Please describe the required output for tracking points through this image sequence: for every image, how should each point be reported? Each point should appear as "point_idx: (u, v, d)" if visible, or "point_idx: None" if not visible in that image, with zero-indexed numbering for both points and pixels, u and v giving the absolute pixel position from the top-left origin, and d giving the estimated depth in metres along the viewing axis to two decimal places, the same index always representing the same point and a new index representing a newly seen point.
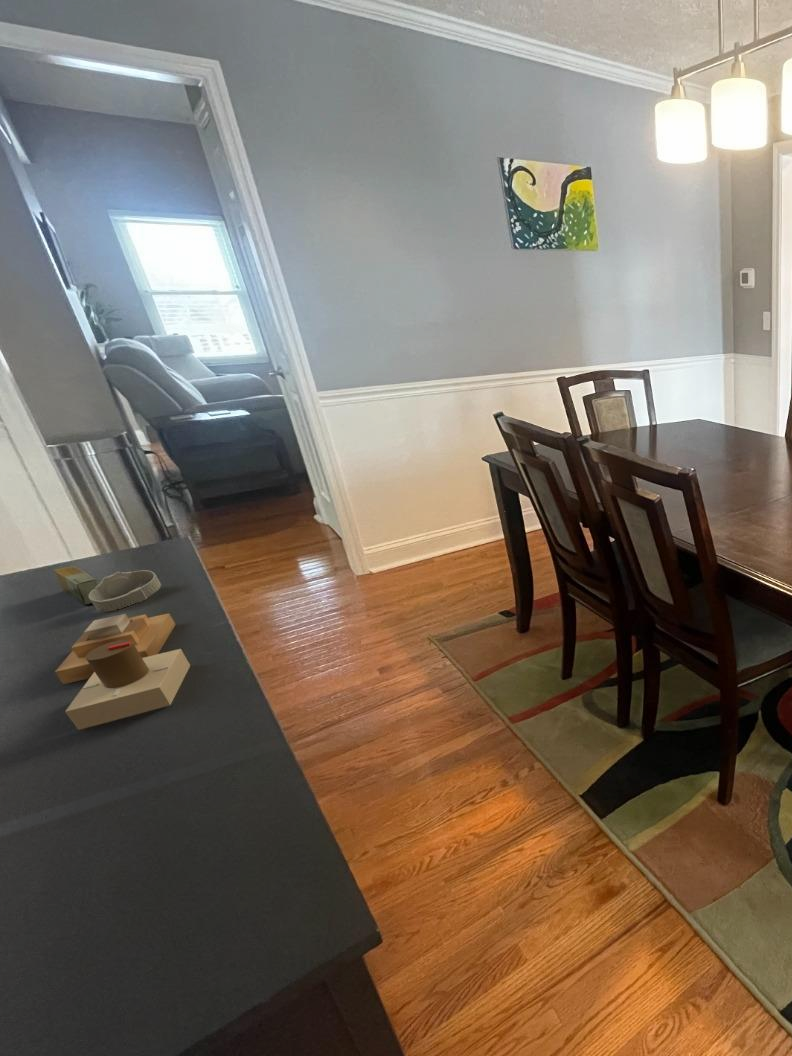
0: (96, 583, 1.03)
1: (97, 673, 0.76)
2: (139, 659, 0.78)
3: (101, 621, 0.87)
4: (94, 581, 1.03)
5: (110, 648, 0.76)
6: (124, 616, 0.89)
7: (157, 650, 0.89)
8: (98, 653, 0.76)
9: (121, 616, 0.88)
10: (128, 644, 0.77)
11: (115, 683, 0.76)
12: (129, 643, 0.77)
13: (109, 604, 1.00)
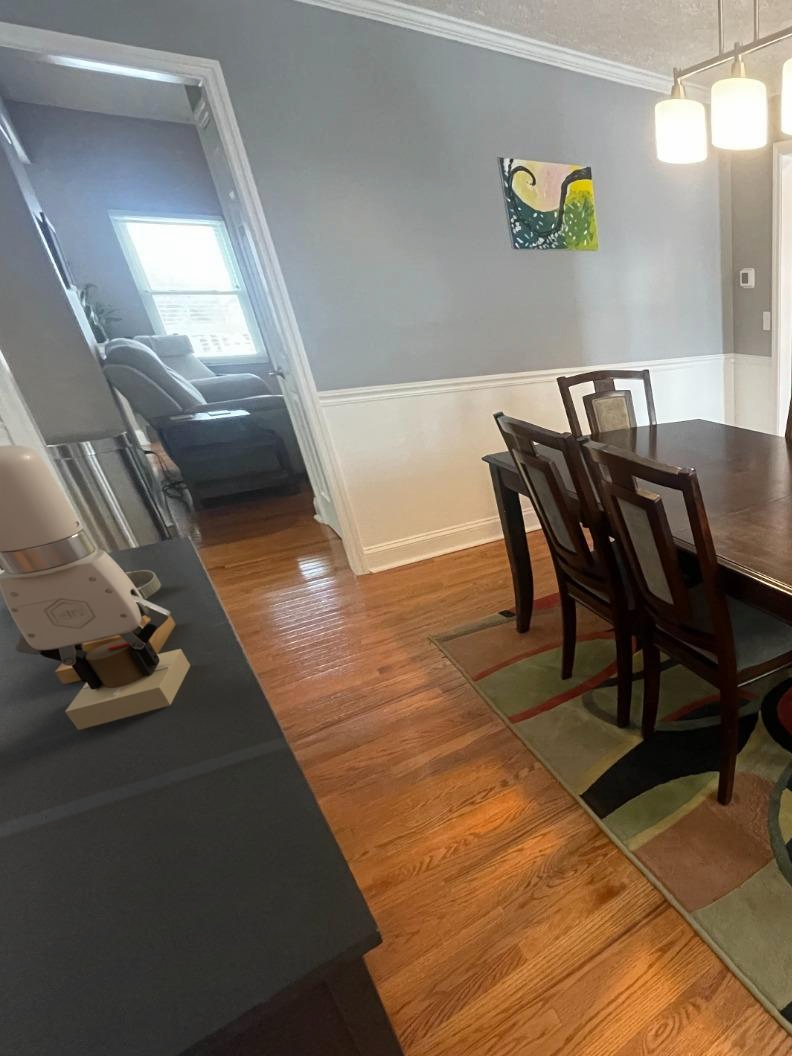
0: None
1: (97, 673, 0.76)
2: None
3: None
4: None
5: (110, 648, 0.76)
6: None
7: (157, 650, 0.89)
8: (98, 653, 0.76)
9: None
10: (128, 644, 0.77)
11: (115, 683, 0.76)
12: None
13: None
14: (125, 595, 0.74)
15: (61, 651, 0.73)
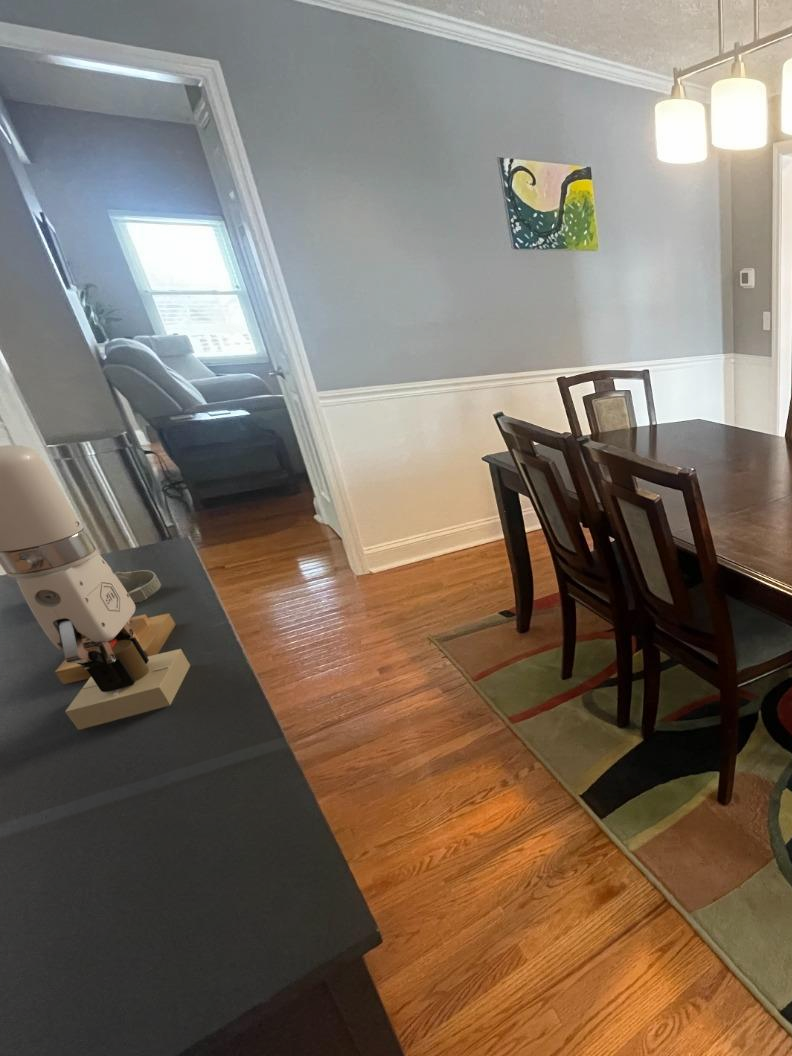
0: None
1: (129, 665, 0.77)
2: None
3: None
4: None
5: (111, 646, 0.77)
6: None
7: (157, 650, 0.89)
8: None
9: None
10: (116, 640, 0.78)
11: (145, 669, 0.79)
12: (115, 639, 0.78)
13: None
14: None
15: (105, 647, 0.73)
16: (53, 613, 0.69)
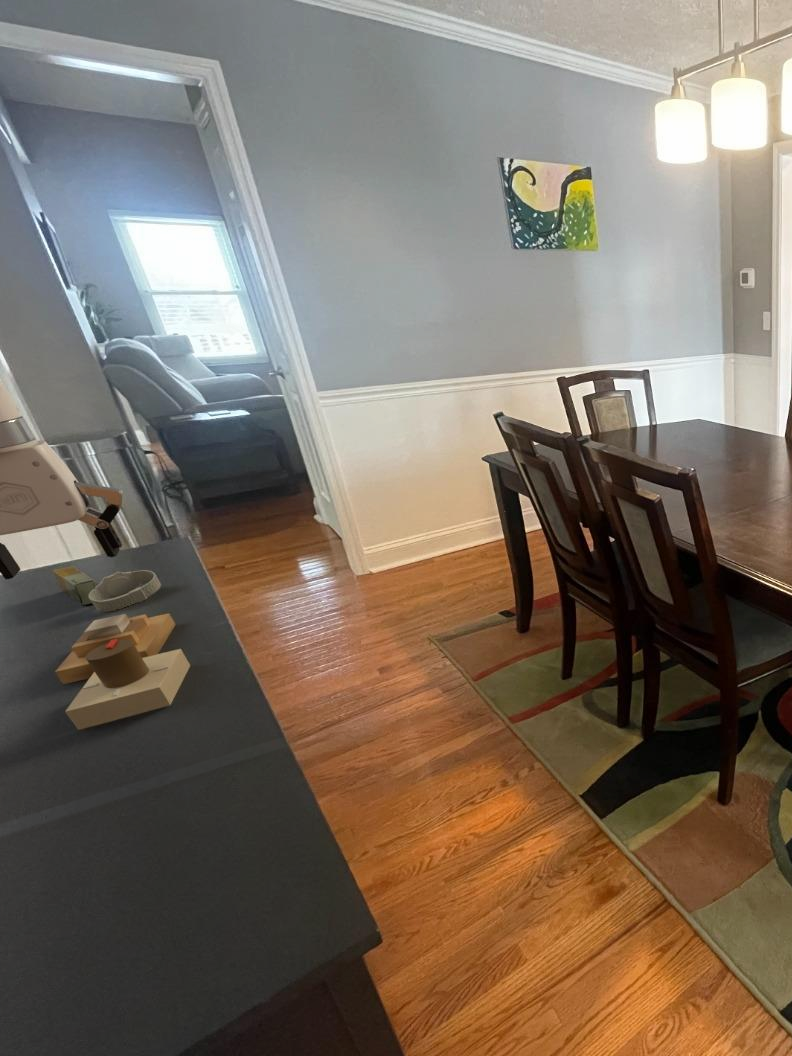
0: (94, 584, 1.03)
1: (129, 665, 0.77)
2: None
3: (101, 621, 0.87)
4: (92, 582, 1.03)
5: (111, 646, 0.77)
6: (124, 616, 0.89)
7: (157, 650, 0.89)
8: (112, 651, 0.76)
9: (121, 616, 0.88)
10: (116, 640, 0.78)
11: (145, 669, 0.79)
12: (115, 639, 0.78)
13: (109, 604, 1.00)
14: (69, 483, 0.76)
15: None
16: None
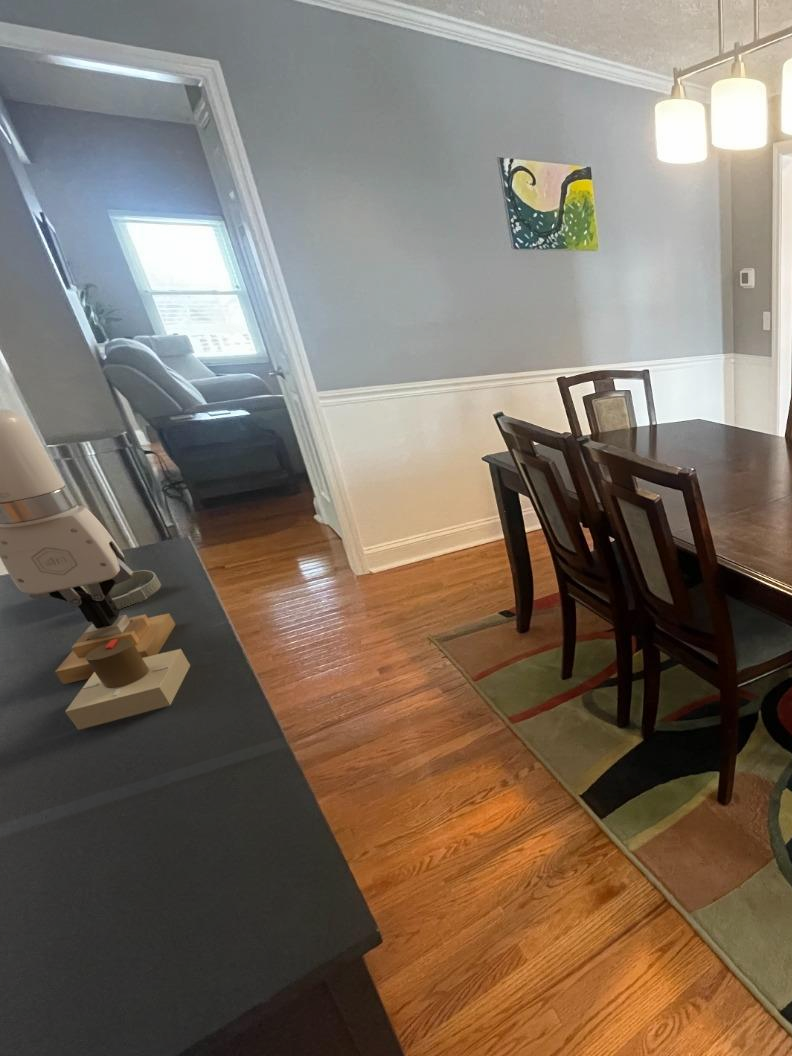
0: None
1: (129, 665, 0.77)
2: None
3: None
4: None
5: (111, 646, 0.77)
6: (125, 617, 0.89)
7: (157, 650, 0.89)
8: (112, 651, 0.76)
9: (122, 617, 0.88)
10: (116, 640, 0.78)
11: (145, 669, 0.79)
12: (115, 639, 0.78)
13: None
14: (104, 546, 0.82)
15: (63, 594, 0.83)
16: None
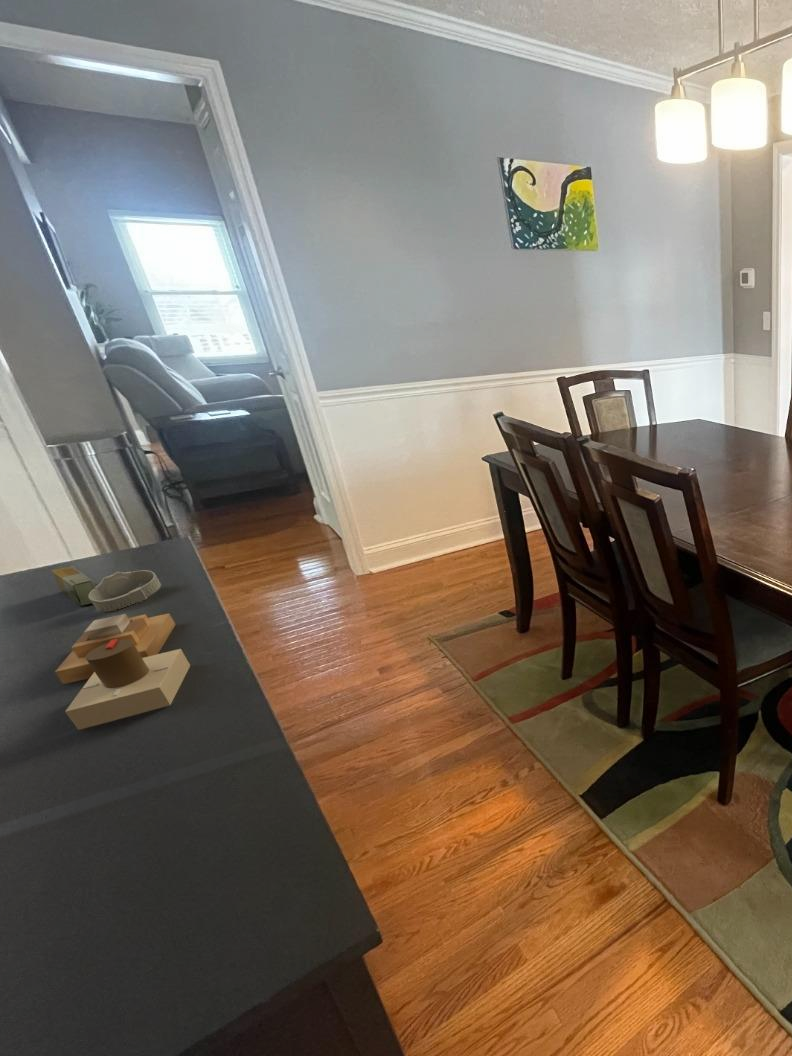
0: (92, 584, 1.03)
1: (129, 665, 0.77)
2: None
3: (101, 621, 0.87)
4: (90, 582, 1.02)
5: (111, 646, 0.77)
6: (124, 616, 0.89)
7: (157, 650, 0.89)
8: (112, 651, 0.76)
9: (121, 616, 0.88)
10: (116, 640, 0.78)
11: (145, 669, 0.79)
12: (115, 639, 0.78)
13: (109, 604, 1.00)
14: None
15: None
16: None
